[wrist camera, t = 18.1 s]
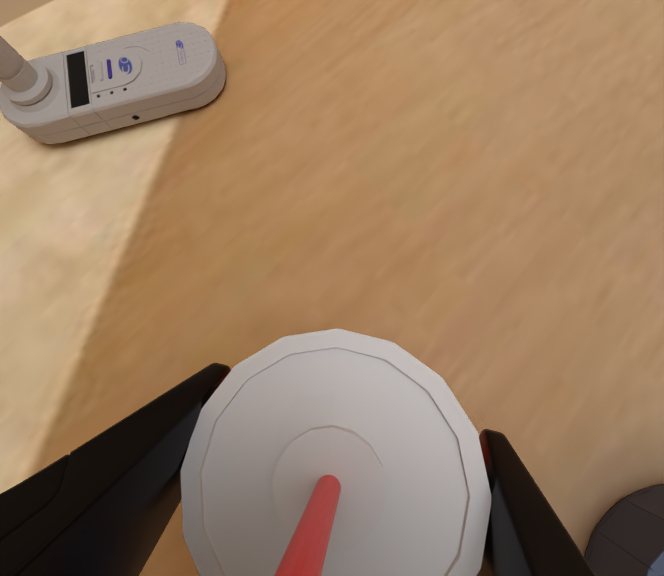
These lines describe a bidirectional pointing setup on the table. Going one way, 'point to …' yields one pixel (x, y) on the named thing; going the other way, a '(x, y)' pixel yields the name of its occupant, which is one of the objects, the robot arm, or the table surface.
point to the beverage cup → (334, 466)
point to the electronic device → (110, 82)
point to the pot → (630, 537)
